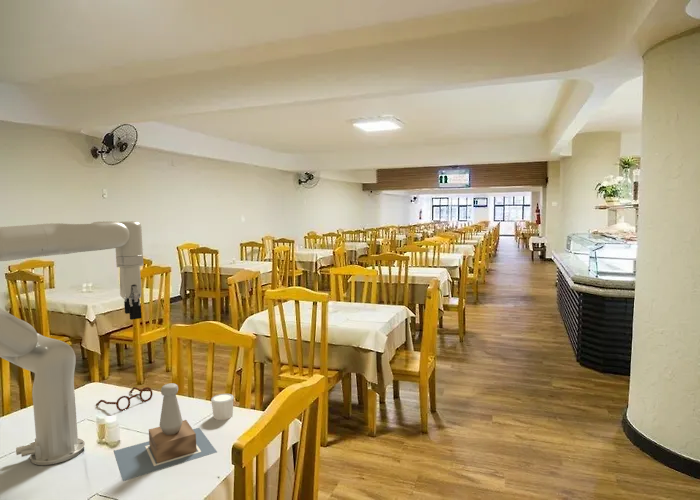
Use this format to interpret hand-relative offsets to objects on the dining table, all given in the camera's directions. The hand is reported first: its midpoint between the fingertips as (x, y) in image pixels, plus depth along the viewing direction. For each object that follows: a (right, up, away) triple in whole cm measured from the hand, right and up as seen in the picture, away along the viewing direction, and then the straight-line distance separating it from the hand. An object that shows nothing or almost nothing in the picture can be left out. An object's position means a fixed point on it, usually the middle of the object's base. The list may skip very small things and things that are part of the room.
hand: (133, 315), depth 144 cm
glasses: (-11, -33, +16) cm, 38 cm away
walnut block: (+19, -34, -18) cm, 43 cm away
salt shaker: (+19, -29, -18) cm, 39 cm away
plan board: (+18, -35, -19) cm, 44 cm away
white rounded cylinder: (+28, -33, +2) cm, 43 cm away
